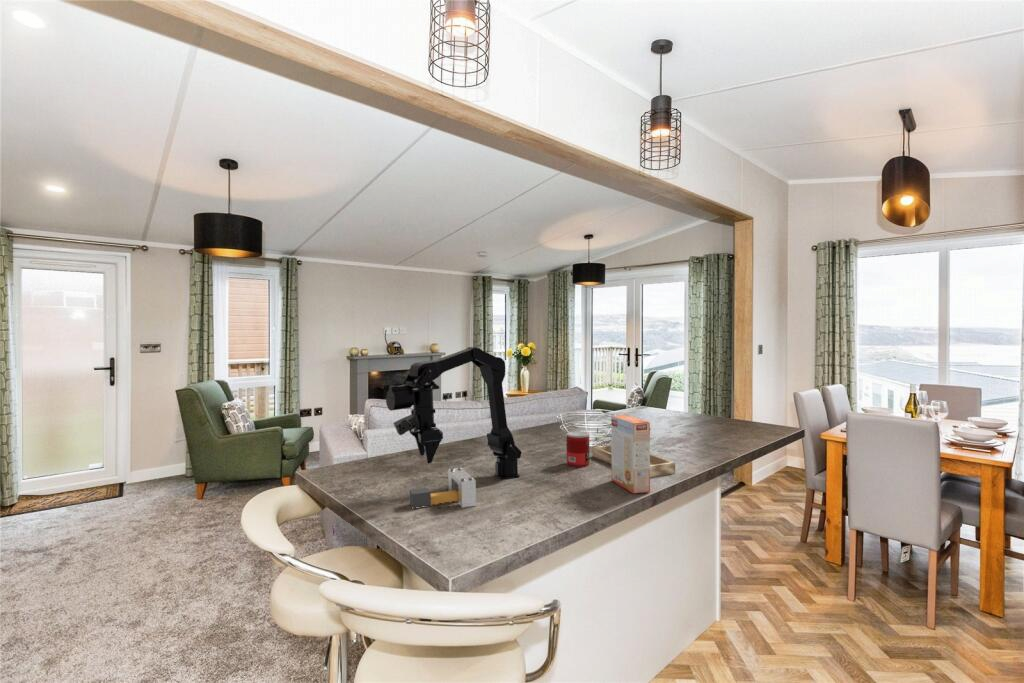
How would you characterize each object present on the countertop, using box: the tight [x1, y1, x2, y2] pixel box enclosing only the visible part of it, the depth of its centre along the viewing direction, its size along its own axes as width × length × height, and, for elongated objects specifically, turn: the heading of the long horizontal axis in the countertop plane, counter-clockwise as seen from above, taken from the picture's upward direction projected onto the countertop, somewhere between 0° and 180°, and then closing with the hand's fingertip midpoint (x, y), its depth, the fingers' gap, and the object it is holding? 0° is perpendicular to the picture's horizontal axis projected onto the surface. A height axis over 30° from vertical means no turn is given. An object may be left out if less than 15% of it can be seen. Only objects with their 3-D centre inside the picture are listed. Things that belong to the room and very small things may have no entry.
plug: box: [409, 486, 458, 509], centre depth 136 cm, size 15×4×4 cm, turn 112°
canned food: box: [566, 430, 590, 468], centre depth 173 cm, size 8×8×11 cm
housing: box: [447, 467, 477, 509], centre depth 139 cm, size 4×14×7 cm, turn 22°
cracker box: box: [610, 414, 651, 495], centre depth 147 cm, size 14×6×21 cm, turn 15°
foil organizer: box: [592, 444, 676, 478], centre depth 172 cm, size 13×30×4 cm, turn 22°
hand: (425, 459), depth 141 cm, fingers open, 9 cm apart
